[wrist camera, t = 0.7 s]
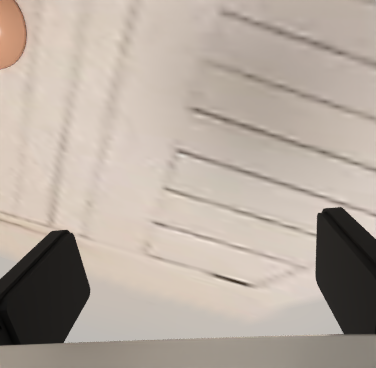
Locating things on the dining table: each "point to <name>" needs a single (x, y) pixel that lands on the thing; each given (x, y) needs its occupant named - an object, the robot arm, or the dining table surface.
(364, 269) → the robot arm
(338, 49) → the dining table surface
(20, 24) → the peach smooth round part
